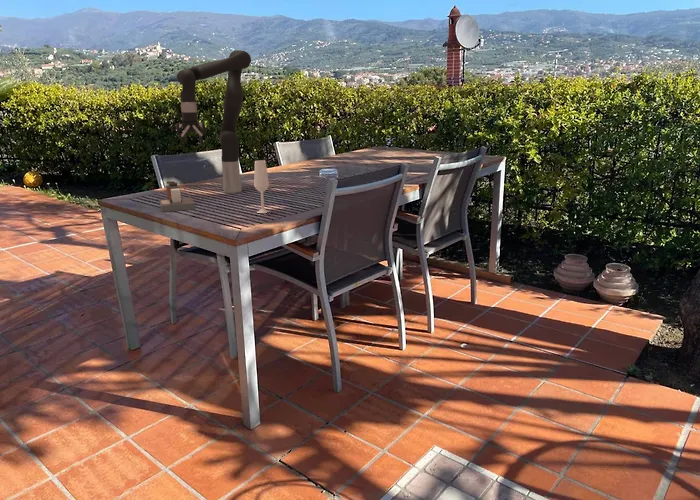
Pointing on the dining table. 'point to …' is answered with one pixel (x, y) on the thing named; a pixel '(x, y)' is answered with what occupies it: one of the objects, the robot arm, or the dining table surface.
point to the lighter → (171, 186)
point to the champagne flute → (261, 181)
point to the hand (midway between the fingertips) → (192, 143)
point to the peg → (176, 195)
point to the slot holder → (177, 205)
